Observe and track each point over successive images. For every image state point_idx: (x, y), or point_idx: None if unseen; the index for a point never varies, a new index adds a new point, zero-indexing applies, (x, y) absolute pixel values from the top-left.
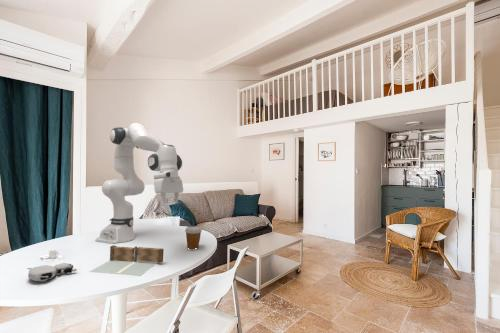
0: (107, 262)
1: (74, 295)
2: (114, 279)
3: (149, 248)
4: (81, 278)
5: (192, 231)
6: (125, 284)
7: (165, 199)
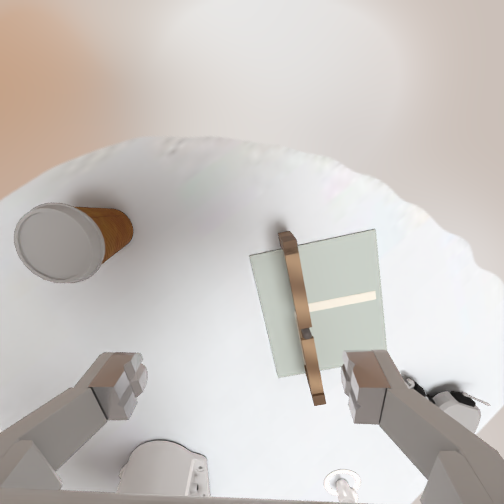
0: (327, 366)
1: (491, 290)
2: (404, 276)
3: (300, 288)
4: (417, 345)
5: (91, 229)
6: (422, 231)
7: (404, 386)
